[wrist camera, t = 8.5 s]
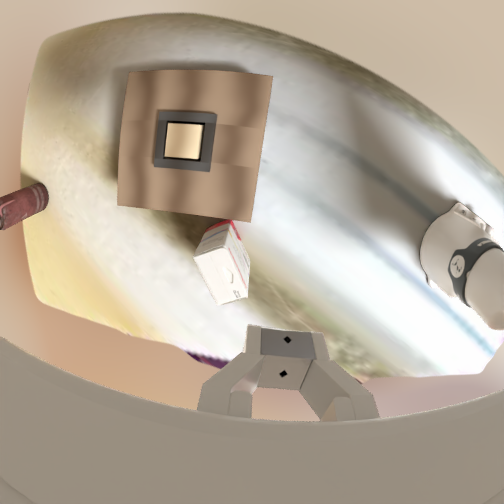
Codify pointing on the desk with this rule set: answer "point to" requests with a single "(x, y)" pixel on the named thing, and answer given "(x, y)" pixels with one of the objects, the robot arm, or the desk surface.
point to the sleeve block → (214, 142)
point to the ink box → (223, 263)
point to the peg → (184, 140)
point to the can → (22, 204)
